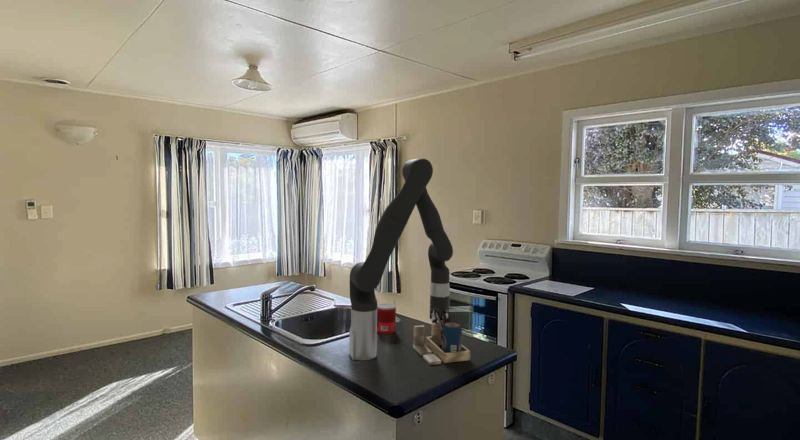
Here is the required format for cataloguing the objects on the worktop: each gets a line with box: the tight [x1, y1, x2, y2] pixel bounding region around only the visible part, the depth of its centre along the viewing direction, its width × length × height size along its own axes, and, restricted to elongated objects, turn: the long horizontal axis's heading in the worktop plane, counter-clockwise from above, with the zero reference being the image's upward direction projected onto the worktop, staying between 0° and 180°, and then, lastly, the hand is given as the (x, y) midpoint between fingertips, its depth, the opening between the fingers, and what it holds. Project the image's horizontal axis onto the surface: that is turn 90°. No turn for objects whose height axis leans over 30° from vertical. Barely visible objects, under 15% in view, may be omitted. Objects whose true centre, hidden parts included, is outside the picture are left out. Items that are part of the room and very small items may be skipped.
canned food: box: [377, 302, 397, 335], centre depth 175 cm, size 8×8×11 cm
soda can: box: [441, 321, 463, 353], centre depth 149 cm, size 7×7×12 cm
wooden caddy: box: [424, 322, 471, 364], centre depth 153 cm, size 10×17×8 cm, turn 18°
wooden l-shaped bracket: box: [412, 324, 442, 366], centre depth 151 cm, size 4×17×8 cm, turn 18°
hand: (439, 335), depth 160 cm, fingers open, 8 cm apart
